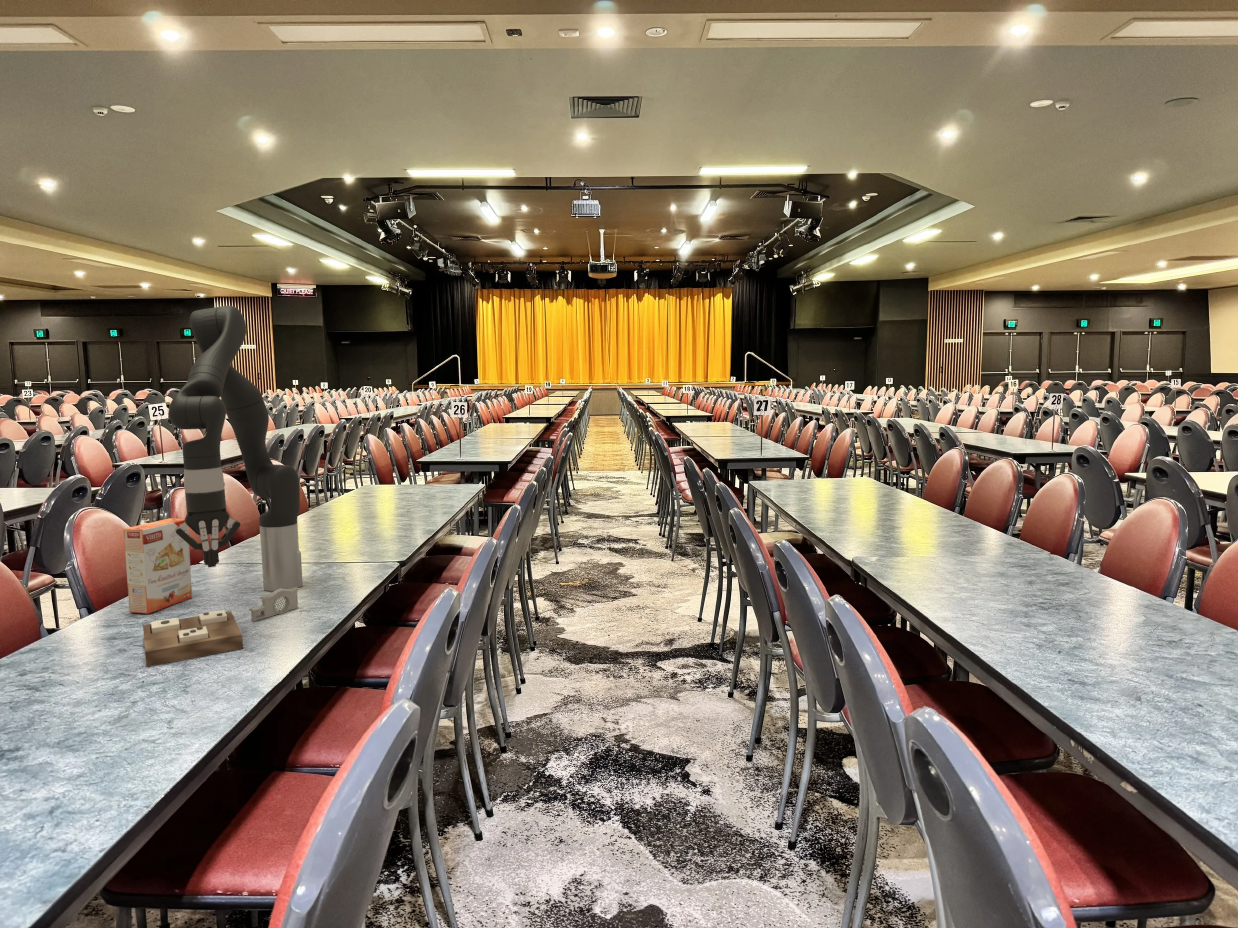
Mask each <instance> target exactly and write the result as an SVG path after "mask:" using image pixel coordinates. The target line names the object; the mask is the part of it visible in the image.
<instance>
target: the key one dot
mask: <svg viewBox="0 0 1238 928" xmlns="http://www.w3.org/2000/svg"><path fill="white" fill-rule="evenodd" d="M178 619H179V617H173V618H168V619H160V620H155V621H150V624H151V627H152V633H157V632H163V631H169V630H175V629H180V624H179V620H178Z"/></svg>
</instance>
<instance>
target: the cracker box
mask: <svg viewBox="0 0 1238 928" xmlns="http://www.w3.org/2000/svg"><path fill="white" fill-rule="evenodd" d="M183 523H185V518H173V517H172V518H171V517H169V518H166V519H161V520H156V521H152V522H147V523H143V524H142V523H141V524H139V525H134V526H130V527H129V526H128V527H125V528H123V538H124V550H125V551H124V552H125V555H124V556H125V568H126V580H127V581H126V582H127V594H128V609H129V613H133V614H144V615H149V614H152V613H154V612H157V611H161V610H163V609H165V608H167V607H168V608H169V607H171V606H174V605H176V604H179V603H182V602H185V601H186V600H190V599H192V598H193V592H192V591H193V589H192V587H193V586H192V574H191V573H192V572H191V557H190V555H191V554H190V553H191V552H190V545H189V544H188V543H187V542H186V541H185V540H183V539H182V538H181V537H180V536H179V535H178V534H177V533H176V532H175V529H176V528H177V527H180V526H181V525H182V524H183Z"/></svg>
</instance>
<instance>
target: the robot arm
mask: <svg viewBox="0 0 1238 928" xmlns="http://www.w3.org/2000/svg"><path fill="white" fill-rule="evenodd" d="M189 324H190V327H191V332H192V334H193V336H194V339H195V341H196V344H197V345H198V348H199V350H200V353H201V354H200V356H199V357H197V358H196V360H195V361H194V363H193V364H192V366H191V369H190V372H189V375H188V379H187V381H186V383H185V384H184V385H183V386H182V387H181V388H180V390H179V391H178V392H177V393H176V394H175V395H174V396H173V398H172V400H171V402H170V404H169V406H168V413H167V415H168V419H169V421H170V422H171V425H172V426H174V427H176V428H177V429H180V430H206V433H205V435H204V436H203V437H201V438H198V439H193V440H188V441H187V442H185V443H184V444H183V445H182V461H183V468H184V469H183V471H184V472H183V485H184V487H183V488H184V498H185V506H186V508H185V509H186V515H185V518H184V519H185V523H183V524H182V525H181V526H180V527H177V528H176V529H175V532H176V533H177V534H178V535H179V536H180V537H181V538H182V539H183V540H185V541H186V542H187V543H188V544H189V547H191V548H193V550H196V551H197V550H200V551H202V557H203V563H204V565H205V566H207V567H208V568H215V567H217V564H219V562H220V558H219V555H220V554H219V549H220V548H222V547H225V546H227V544H228V543H229V542H230V541H231V539H232V538H233V536H234V535H235V534H236V532H237V530H238V529H239V528H240V527H241V522H240V521H239V520H237V519H233V518H232V517H230V514H229V513H228V511H227V503H226V491H225V488H226V487H225V486H226V484H225V479H224V474H223V469H222V460H221V459H222V458H221V440H222V435H223V429H224V426H225V421H226V416H227V419H228V421H229V424H230V426H231V429H232V431H233V433H234V436H235V439H236V443H237V445H238V448H239V450H240V453H241V457H242V460H243V461H242V462H243V464H244V465H243V466H244V469H245V473H246V476H247V480H248V483H249V486H250V488H251V491H252V492H253V494H254V495H255V496H257V497H258V498H261V499H269V500H270V505H269V506H270V508H269V509H268V510H267V511H266V512H263V513H262V514H260V515H259V519H258V522H259V523H258V524H259V538H260V539H259V540H260V551H261V552H260V553H261V568H262V583H263V590H265V591H266V592H267V591H268V592H274V591H276V590H278V589H280V588H281V589H292V588H294V587H297V588H300V587H303V586H304V583H303V582H304V580H303V567H302V563H303V562H302V552H301V550H300V545H299V528H298V526H299V525H298V517H299V513H300V510H301V509H300V508H301V503H300V502H301V497H300V496H301V493H300V491H301V488H300V487H301V486H300V485H301V484H300V478H299V474H298V472H297V470H296V469H295V468H294V467H293V466H291V465H288V464H287V465H286V464H273V461H272V459H271V458H270V455H269V452H268V449H267V444H266V438H267V432H268V429H269V421H270V417H269V412H268V409H267V408H268V407H267V406H266V403H265V400H264V397H263V395H262V393H261V391H260V389H259V388H258V386H256V385H255V384H254V383H253V382H252V381H251V380H250V379H249V378H247V377H246V376H245V375H243V374H242V373H241V372H239V371H238V369H236V368H235V367H234V366H233V365H232V362H233V361H234V359H235V357H236V356H237V355H238V353H239V351H240V349H241V347H242V345H243V343H244V341H245V339H246V336H247V324H246V320H245V317H244V315H243V313H242V311H241V310H240V309H239V308H238V307H236V306H233V305H221V306H216V307H210V308H203V309H198V310H194V311H192V313H191V314H190V316H189ZM226 524H227V525H226ZM225 526H226V527H227V530H226V531H225V533H224V534H223V535H222V537H221V538H220V539H219V533H221V532H222V530H223V529H224V527H225ZM189 528H190V529H191V530H192V531H193V532H194V533H195V534H196V535H197V536H199V538H200V542H197V541H196V540H195V538H193V537H192V536H191V535H190V534H189V533H190V529H189ZM208 535H209V536H210V542H209V538H208Z"/></svg>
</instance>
